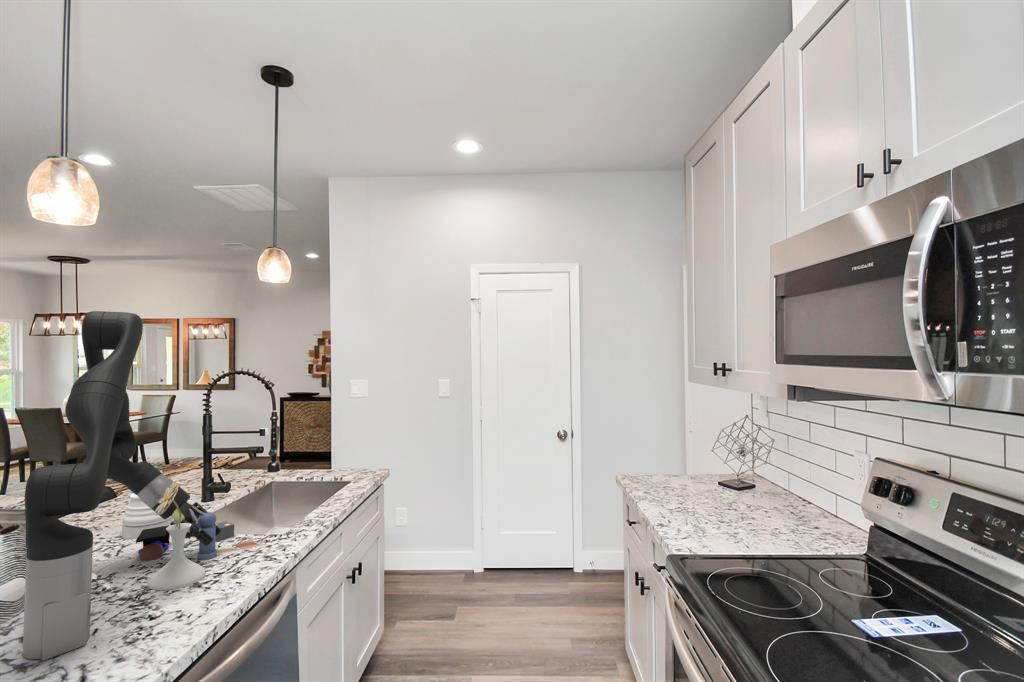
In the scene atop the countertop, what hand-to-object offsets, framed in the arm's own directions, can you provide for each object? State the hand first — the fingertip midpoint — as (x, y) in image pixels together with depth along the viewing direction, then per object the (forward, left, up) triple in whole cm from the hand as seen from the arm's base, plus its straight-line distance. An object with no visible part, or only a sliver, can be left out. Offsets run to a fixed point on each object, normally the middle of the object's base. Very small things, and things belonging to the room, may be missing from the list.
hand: (214, 537), depth 130 cm
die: (+13, -8, -6) cm, 17 cm away
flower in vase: (-8, +12, -6) cm, 16 cm away
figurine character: (+18, +7, -7) cm, 20 cm away
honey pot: (+42, 0, -7) cm, 42 cm away
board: (+1, -4, -6) cm, 7 cm away
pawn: (+1, +1, -5) cm, 5 cm away
